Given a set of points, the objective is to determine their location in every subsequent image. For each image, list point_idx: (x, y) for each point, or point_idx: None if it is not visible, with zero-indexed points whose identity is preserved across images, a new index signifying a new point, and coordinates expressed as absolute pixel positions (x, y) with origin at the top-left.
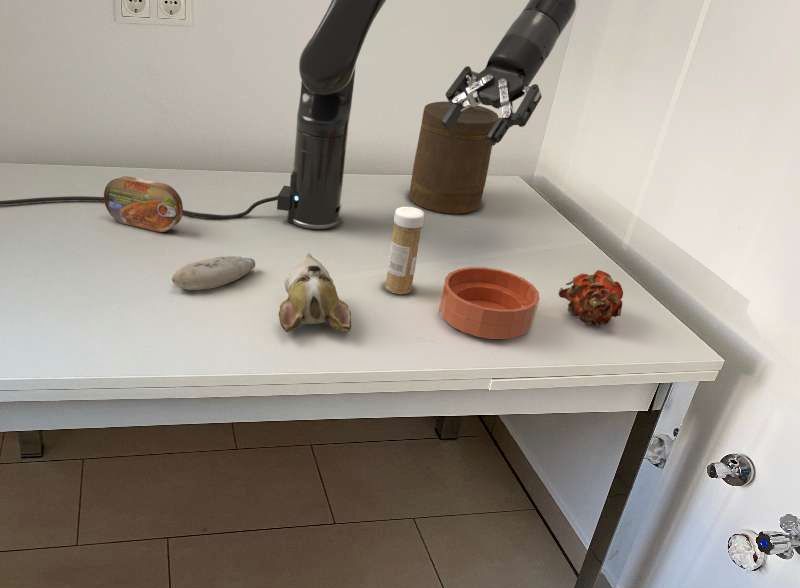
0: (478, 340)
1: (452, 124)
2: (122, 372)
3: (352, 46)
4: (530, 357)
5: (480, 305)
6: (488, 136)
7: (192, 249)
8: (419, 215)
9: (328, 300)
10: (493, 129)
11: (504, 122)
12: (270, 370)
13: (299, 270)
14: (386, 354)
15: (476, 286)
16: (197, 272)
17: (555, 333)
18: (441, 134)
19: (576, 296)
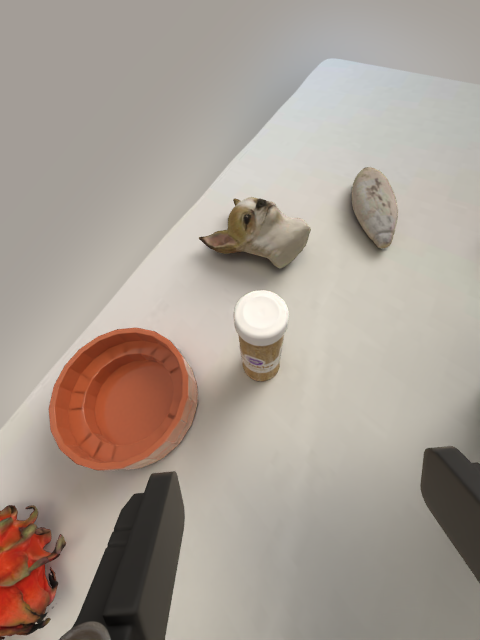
0: None
1: (445, 520)
2: (266, 126)
3: None
4: None
5: (155, 416)
6: (164, 472)
7: (457, 226)
8: (237, 313)
9: (228, 219)
10: (150, 512)
11: (98, 610)
12: (211, 187)
13: (291, 218)
14: (168, 264)
15: (165, 418)
16: (363, 178)
17: (53, 461)
18: None
19: (17, 526)
